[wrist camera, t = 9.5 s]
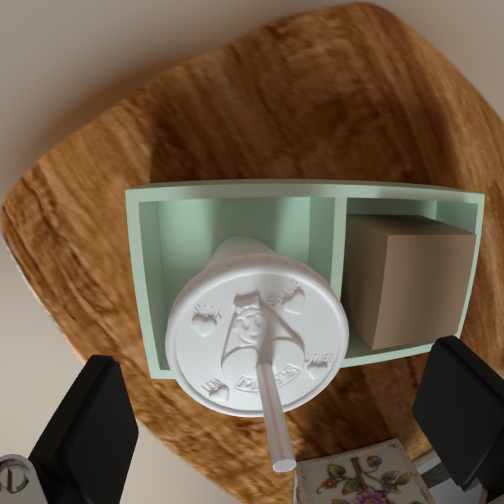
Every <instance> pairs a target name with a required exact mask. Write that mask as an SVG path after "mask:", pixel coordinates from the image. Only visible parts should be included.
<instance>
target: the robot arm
mask: <svg viewBox="0 0 504 504" xmlns="http://www.w3.org/2000/svg"><path fill="white" fill-rule="evenodd" d="M412 414H413V417H414V418H415V420H416V421H417V423H418V425H419V426H420V428H421V429H422V431H423V432H424V434H425V435H426V437H427V439H428V440H429V442H430V443H431V445H432V447H433V448H434V450H435V451H436V453H437V455H438V456H439V457H440V459H441V461H442V463H443V464H444V466H445V468H446V469H447V471H448V473H449V474H450V476H451V477H452V479H453V481H454V482H455V484H456V485H458V486H461V488H462V490H463V491H464V492H466V491H468V490H470V489H472V488H474V487H476V486H477V485H478V484H479V483H481V484H482V491H481V496H480V500H479V504H504V380H503V379H502V378H501V377H500V376H499V375H498V374H497V373H496V372H495V371H494V370H493V369H492V368H491V367H490V366H488V365H487V364H486V363H485V362H484V361H483V360H482V359H481V358H480V357H479V356H477V355H476V354H475V353H474V352H473V351H472V350H471V349H470V348H469V347H467V346H466V345H465V344H464V343H463V342H462V341H461V340H460V339H458V338H457V337H456V336H454V335H450V336H445V337H440V338H438V339H437V340H436V341H435V343H434V344H433V345H432V347H431V350H430V354H429V357H428V361H427V364H426V367H425V371H424V374H423V377H422V380H421V384H420V387H419V390H418V393H417V395H416V398H415V401H414V404H413V407H412ZM138 433H139V431H138V425H137V422H136V419H135V416H134V413H133V410H132V406H131V403H130V400H129V396H128V393H127V389H126V386H125V382H124V379H123V375H122V371H121V367H120V364H119V362H117V361H114V359H113V357H111V356H105V355H92V356H91V357H90V358H89V360H88V361H87V363H86V364H85V366H84V367H83V369H82V370H81V372H80V373H79V375H78V377H77V378H76V380H75V381H74V383H73V384H72V386H71V387H70V389H69V391H68V392H67V394H66V395H65V397H64V398H63V400H62V402H61V403H60V405H59V406H58V408H57V410H56V411H55V413H54V414H53V416H52V418H51V419H50V421H49V423H48V424H47V426H46V428H45V429H44V431H43V433H42V435H41V436H40V438H39V440H38V441H37V443H36V445H35V447H34V448H33V450H32V452H31V454H30V456H29V457H28V459H27V458H25V457H23V456H21V455H15V454H11V455H4V456H2V457H0V504H119V503H120V499H121V495H122V492H123V488H124V484H125V481H126V477H127V473H128V470H129V467H130V463H131V460H132V456H133V453H134V449H135V446H136V443H137V439H138Z"/></svg>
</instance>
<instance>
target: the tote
mask: <svg viewBox="0 0 504 504" xmlns="http://www.w3.org/2000/svg"><path fill="white" fill-rule="evenodd" d="M125 194H126V210H127V222H128V234H129V244H130V253H131V262H132V270H133V278H134V286H135V293H136V299H137V306H138V312H139V318H140V324H141V330H142V335H143V341H144V346H145V351H146V356H147V361H148V366H149V370H150V375H151V378H158V379H175V378H174V376H173V374H172V372H171V370H170V367H169V364H168V361H167V357H166V350H165V339H166V332H167V326H168V317H169V315H170V312H171V309H172V307H173V304H174V301H175V299H176V297H177V296H178V295H179V293H180V292H181V291H182V290H183V288H184V287H185V286H186V284H187V283H188V282H189V281H190V280H191V279H192V278H193V277H195V276H196V275H197V274H199V273H200V272H201V271H203V270H204V269H205V267H206V265H207V264H208V262H209V260H210V259H211V257H212V255H213V254H214V252H215V251H216V249H217V248H218V246H219V245H220V244H221V243H222V242H224V241H225V240H227V239H229V238H231V237H234V236H239V235H246V236H251V237H254V238H256V239H258V240H260V241H261V242H263V243H264V244H265V245H267V246H268V247H269V248H271V249H272V250H273V251H275V252H276V253H277V254H279V255H284V256H287V257H290V258H292V259H295V260H297V261H299V262H302V263H304V264H307V265H308V266H310V267H311V268H312V269H313V270H315V271H316V272H317V273H318V274H320V275H321V276H322V277H323V278H324V279H326V281H327V282H328V284H329V285H330V287H331V288H332V290H333V291H334V293H335V294H336V296H337V298H338V299H339V301H340V296H341V285H342V274H343V261H344V246H345V229H346V214H391V215H421V216H424V217H428V218H431V219H434V220H437V221H440V222H443V223H446V224H449V225H452V226H455V227H457V228H460V229H463V230H466V231H469V232H472V233H474V234H477V236H476V244H475V251H474V257H473V263H472V269H471V275H470V280H469V285H468V290H467V294H466V299H465V303H464V308H463V312H462V316H461V320H460V324H459V327H458V331H457V334H453V335H454V336H456V337H457V338H458V339H459V338H460V334H461V331H462V327H463V323H464V320H465V316H466V312H467V308H468V303H469V299H470V294H471V290H472V285H473V280H474V275H475V269H476V264H477V258H478V251H479V245H480V237H481V229H482V220H483V210H484V197H485V194H480V193H475V192H470V191H465V190H460V189H454V188H448V187H443V186H435V185H423V184H410V183H395V182H378V181H358V180H328V179H230V180H200V181H179V182H162V183H149V184H145V185H141V186H138V187H134V188H130V189H127V190H125ZM347 322H348V328H349V339H348V347H347V351H346V355H345V358H344V360H343V363H342V365H341V367H340V368H343V367H350V366H356V365H363V364H369V363H375V362H380V361H386V360H391V359H396V358H401V357H406V356H411V355H416V354H420V353H425V352H429V351H430V350H431V347H432V345H433V344H434V343H435V341H436V340H437V339H438V338H435V339H430V340H425V341H420V342H415V343H410V344H405V345H399V346H394V347H388V348H382V349H376V350H372V349H371V348H370V347H369V345H368V344H367V343H366V341H365V340H364V339H363V338H362V336H361V335H360V334H359V332H358V331H357V330H356V328H355V327H354V326H353V325H352V323H351V322H350V321H349V319H348V318H347ZM448 336H450V335H448ZM444 337H445V336H444ZM439 338H440V337H439Z"/></svg>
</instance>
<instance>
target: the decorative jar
mask: <svg viewBox="0 0 504 504" xmlns="http://www.w3.org/2000/svg"><path fill="white" fill-rule="evenodd" d="M293 504H435V502H434V499H433V497H432V496H431V494H430V492H429V490H428V488H427V486H426V484H425V483H424V481H423V479H422V478H421V476H420V474H419V472H418V471H417V469H416V467H415V465H414V464H413V462H412V460H411V459H410V457H409V455H408V454H407V452H406V450H405V449H404V447H403V446H402V444H401V443H400V441H399V440H398V439H397V438H394V439H391V440H387V441H384V442H381V443H377V444H373V445H369V446H366V447H362V448H358V449H354V450H350V451H346V452H342V453H338V454H334V455H330V456H325V457H320V458H315V459H309V460H304V461H299V462H296V466H295V468H294V487H293Z"/></svg>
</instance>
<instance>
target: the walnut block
mask: <svg viewBox="0 0 504 504" xmlns="http://www.w3.org/2000/svg"><path fill="white" fill-rule="evenodd" d="M476 236H477V234H474V233H472V232H469V231H466V230H463V229H460V228H457V227H455V226H452V225H449V224H446V223H443V222H440V221H437V220H434V219H431V218H428V217H424V216H421V215H391V214H346V229H345V246H344V261H343V274H342V285H341V296H340V303H341V304H342V306H343V309H344V311H345V314H346V317H347V318H348V319H349V321H350V322H351V323H352V325H353V326H354V327H355V328H356V330H357V331H358V332H359V334H360V335H361V336H362V338H363V339H364V340H365V341H366V343H367V344H368V345H369V347H370V348H371V349H372V350H376V349H382V348H388V347H394V346H399V345H405V344H410V343H415V342H420V341H425V340H430V339H435V338H439V337H444V336H448V335H453V334H457V331H458V327H459V324H460V320H461V316H462V312H463V308H464V303H465V299H466V294H467V290H468V285H469V280H470V275H471V269H472V263H473V257H474V251H475V244H476Z"/></svg>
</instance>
